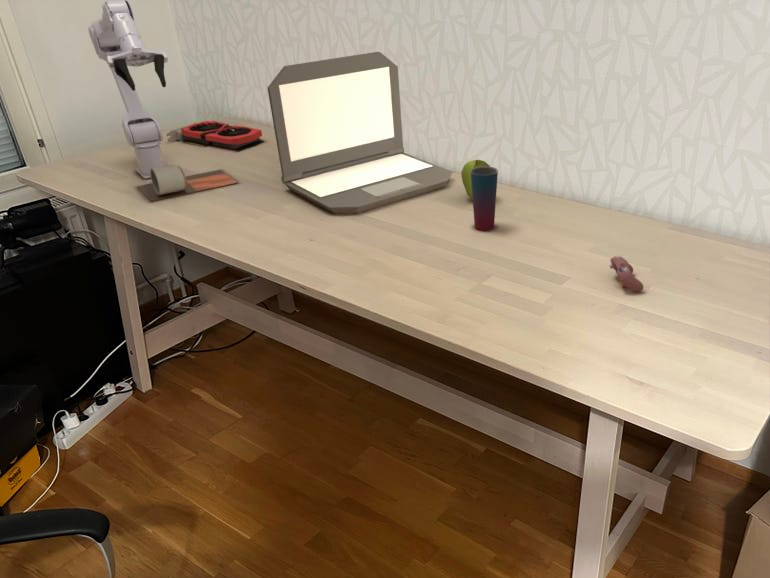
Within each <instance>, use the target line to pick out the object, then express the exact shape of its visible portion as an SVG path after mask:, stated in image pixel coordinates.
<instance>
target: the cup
mask: <svg viewBox="0 0 770 578" xmlns="http://www.w3.org/2000/svg"><path fill="white" fill-rule="evenodd" d="M489 166H490V165H489ZM489 166H480V167H475V168H473V169H471V184H472V197H473V200H472V210H473V221H474V223H473V224H474V229H475V230H477V231H481V232H489V231H492V230H494V228H495V219H496V203H497V191H498V176H499V170H498V168H496V167H494V166H490V167H489Z"/></svg>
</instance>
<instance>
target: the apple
mask: <svg viewBox="0 0 770 578" xmlns="http://www.w3.org/2000/svg"><path fill="white" fill-rule="evenodd" d="M480 166H489V167H491V166H490V164H489V163H488V162H486V161H485V160H481V159H474V160H470V161H468V162H466V163H465V164H464V165H463V167H462V170H461V181H462V185H463V187H464V190H465V192H466V195H467V197H469V198H470V199H471V200H472V201H473V197H472V184H471V169H473V168H475V167H480Z"/></svg>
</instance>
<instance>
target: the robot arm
mask: <svg viewBox="0 0 770 578" xmlns="http://www.w3.org/2000/svg"><path fill="white" fill-rule="evenodd" d="M101 5H102V6H101V7H102V13H101V18H99V19H96V20H94V21H92V22H91V24H89V26H88V35H89V38H90V40H91V43H92V46H93V49H94V51H95V53H96V55H97V56H98V59H101V60H102V61H105V62H106V63H107V65H108V67H109V69H110V71H111V73H112V76H113V78H114V81H115V83H116V86H117V89H118V90H119V91H118V92H119V94H120V96H121V99H122V102H123V104H124V107H125V109H126V112H127V113H126V115H125V116H124V117H123V118H122V120H121V121H122V122H121V126H122V129H123V133H124V136H125V139H126V142H127V143H128V145H129V146H130V147H133V148H134V154H135V157H136V161H137V164H138V169H136V172H137V173H138V174H139V176H141V177H142V178H143V179H145V180H146V179H151V175H150V170H151V168H156V167H166V164H165V160H164V156H163V152H162V148H161V142H163V139H164V135H163V130H162V127H161V125H160V123H159V121H158V119H157V117H156V116H155V114H153V113H152V112H150V111H146V110H145V109H144V108H143V105H142V103H141V100H140V97H139V95H138V92H137V89H136V84H135V82H134V79H133V77H132V75H131V73H130V70H129V68H128V67H136V68H137V67H143V66H146V65H149V64H151V63H153V65H154V71H155V73H156V75H157V77H158V78H159V82H160V84H161V86H162V88H166V87H167V81H166V78H165V77H166V76H165V64H166V63H168V59H169V57H168V55H167V53H166V51H157V50H150V49H146V47H145V45H144V44H145V43H144V42H143V39H142V36H141V35H140V32H139V30H138V28H137V26H136V24H135V18H134V13H133V9H132V6H131V4H130V2H129V0H109V1H104V3H103V4H101Z"/></svg>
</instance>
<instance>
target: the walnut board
mask: <svg viewBox="0 0 770 578" xmlns="http://www.w3.org/2000/svg"><path fill="white" fill-rule="evenodd" d="M185 178H186V183H187V186H186V188H185V189H184V190H182V191H178V192H173V193H168V194H163V195H158V194H157V193H156V191H155V189H154V186H153V183H152V182H151V183H148V184H147V183H146V184H143V185H138V186H137V188H138V189H139V191H141V192H142V193H143V195H144V196H145V197H146V198H147V199H148V200H149V201H150V203H153V202H156V201H163V200H166V199H172V198H176V197H180V196H186V195H190V194H194V193H200V192H204V191H208V190H209V191H210V190H214V189H218V188H223V187H228V186H232V185H237V184H238V182H237V181H236V180H235V179H233V178H232V177H231V176H230V175H228V174H227V173H225V172H224V171H223V170H221V169H215V170H212V171H207V172H202V173H197V174H192V175H187V176H185Z"/></svg>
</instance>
